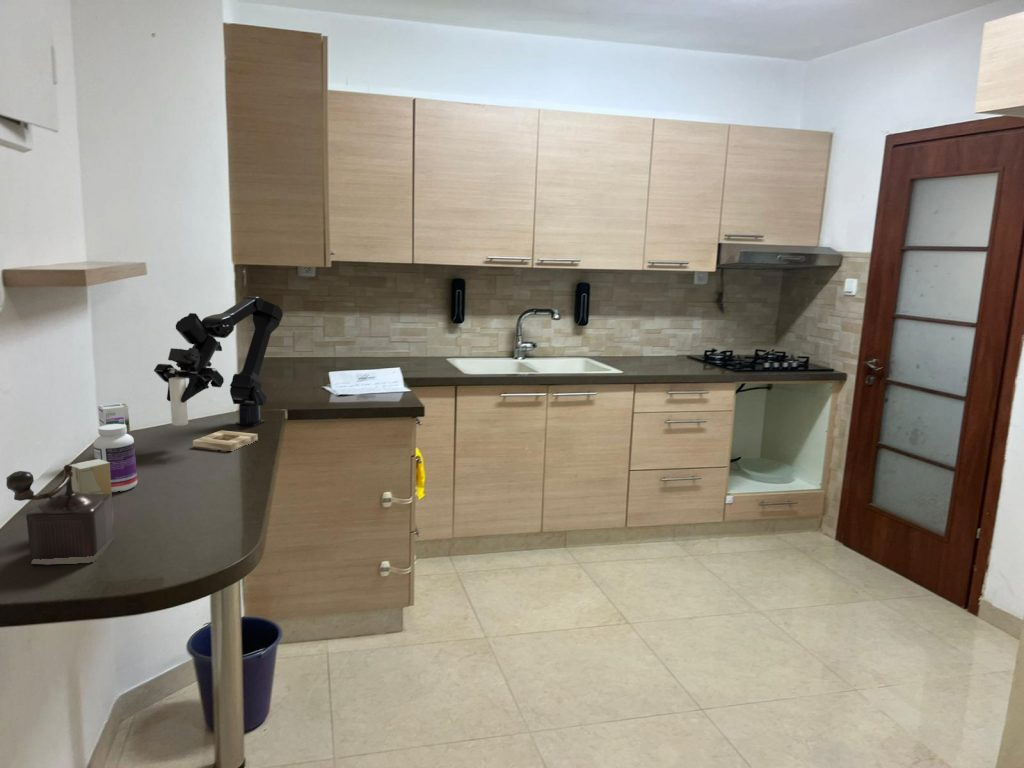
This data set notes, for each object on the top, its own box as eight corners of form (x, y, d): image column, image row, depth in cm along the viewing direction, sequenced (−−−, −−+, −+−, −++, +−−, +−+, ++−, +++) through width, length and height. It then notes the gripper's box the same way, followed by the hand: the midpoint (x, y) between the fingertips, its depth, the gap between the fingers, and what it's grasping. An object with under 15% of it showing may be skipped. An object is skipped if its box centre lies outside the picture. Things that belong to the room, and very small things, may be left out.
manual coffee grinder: (52, 542, 133) (42, 449, 130) (116, 539, 135) (108, 447, 132) (10, 580, 118) (-2, 476, 115) (83, 576, 120) (73, 474, 117)
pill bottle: (144, 482, 167) (140, 422, 164) (125, 494, 159) (120, 431, 156) (110, 481, 167) (105, 421, 165) (89, 493, 159) (84, 430, 157)
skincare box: (82, 529, 140) (77, 469, 137) (70, 524, 142) (65, 465, 140) (115, 519, 145) (110, 461, 143) (103, 514, 147) (98, 457, 145)
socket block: (221, 437, 207) (220, 430, 207) (257, 440, 205) (257, 434, 204) (193, 447, 196) (192, 440, 196) (231, 452, 193) (231, 444, 193)
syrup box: (107, 465, 179) (103, 408, 177) (102, 459, 184) (97, 404, 181) (132, 461, 183) (128, 405, 180) (126, 455, 187) (122, 401, 185)
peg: (178, 421, 197) (175, 376, 194) (191, 422, 196) (188, 377, 193) (168, 424, 193) (165, 379, 190) (181, 426, 192) (178, 380, 190)
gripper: (156, 334, 196) (128, 381, 188) (214, 338, 191) (188, 387, 183) (178, 358, 205) (152, 404, 197) (234, 363, 200) (210, 410, 192)
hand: (175, 401), depth 192 cm, fingers closed on peg, 4 cm apart
